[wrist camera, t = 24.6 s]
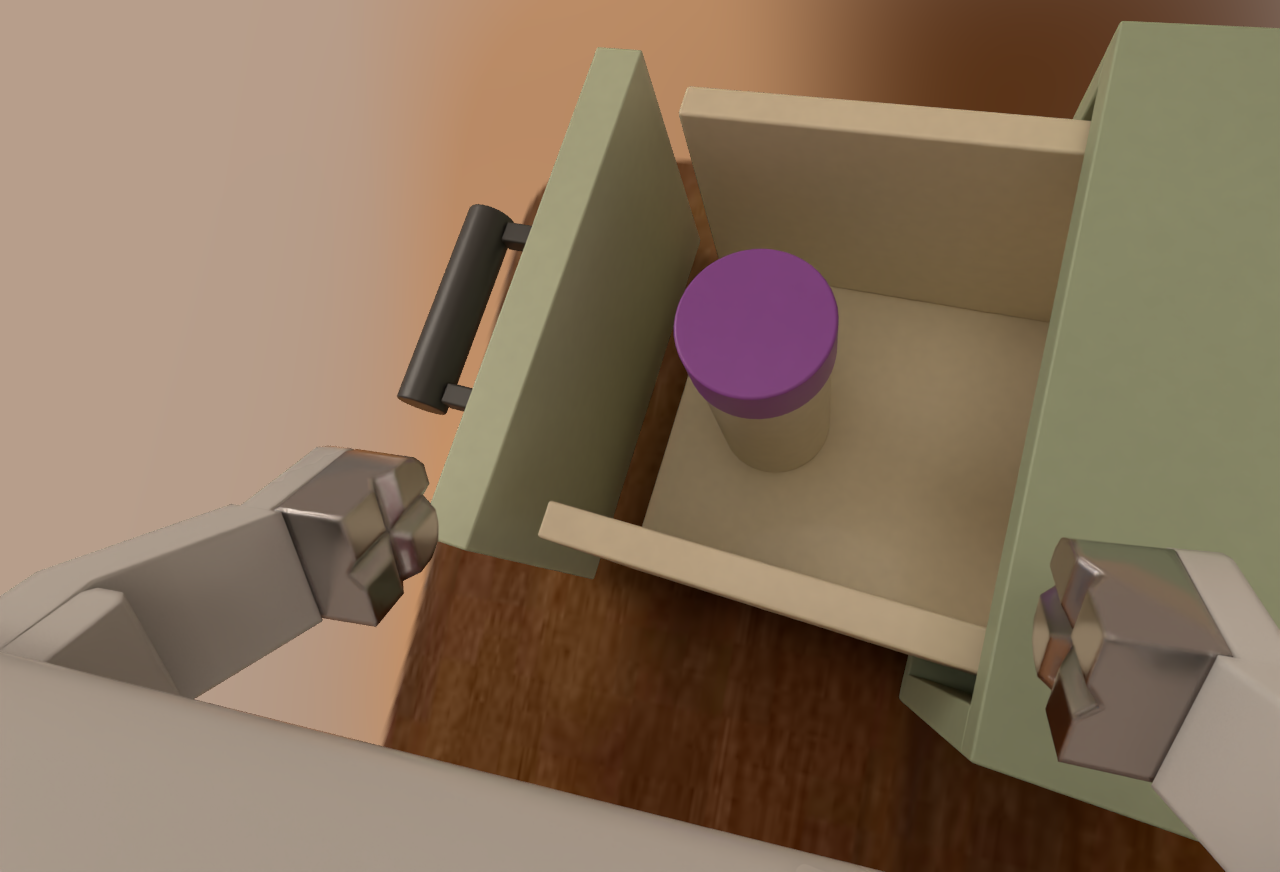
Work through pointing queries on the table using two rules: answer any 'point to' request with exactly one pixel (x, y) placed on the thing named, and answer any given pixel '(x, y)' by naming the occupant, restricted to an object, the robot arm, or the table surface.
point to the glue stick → (762, 353)
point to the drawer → (860, 380)
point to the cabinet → (1143, 375)
